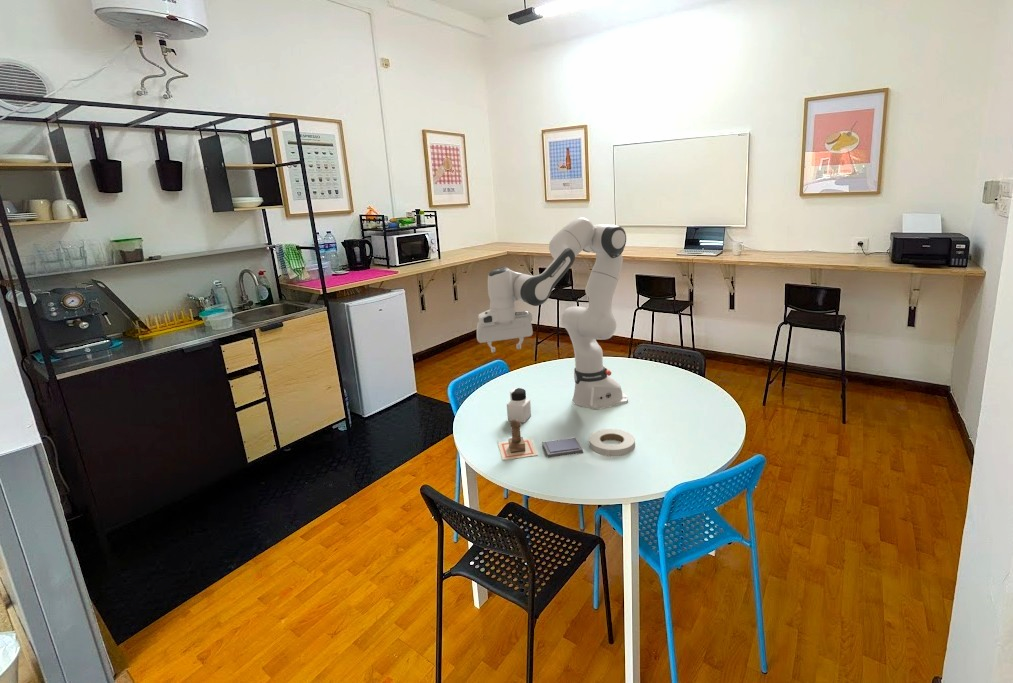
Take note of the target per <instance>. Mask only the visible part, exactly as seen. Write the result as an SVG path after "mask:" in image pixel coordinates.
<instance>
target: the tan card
mask: <svg viewBox="0 0 1013 683" xmlns="http://www.w3.org/2000/svg"><path fill="white" fill-rule="evenodd" d="M523 439H524V442H525V451H524V452H517V453H511V451H510V448H509V441H502V442H497V444H498V448H499V452H500V456H501V460H502V461H508V460H514V459H522V458H529V457H536V456H538V455H539V454H538V453H537V449H536V448H535V446H534V443H533V441H532V438H523Z"/></svg>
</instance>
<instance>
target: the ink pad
mask: <svg viewBox="0 0 1013 683" xmlns="http://www.w3.org/2000/svg"><path fill="white" fill-rule="evenodd" d="M541 445H542V448H543V450H544V451H545V454H546V456H547V458H548V459H551V458H556V457H557V458H558V457H563V456H564V457H565V456H571V455H579V454H584V449H583V447H582V446H581V445H580V443H579V440H578V439H577V437H570V438H562V439H555V440H548V441H542V442H541Z"/></svg>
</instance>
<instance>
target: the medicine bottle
mask: <svg viewBox="0 0 1013 683" xmlns="http://www.w3.org/2000/svg"><path fill="white" fill-rule="evenodd" d="M526 395H527V393H526V389H524V388H522V387H521V388H520V387H516V388H513V389H511V390H510V391H509V396H510V401H508V402H507V403H506V411H507V412H506V413H507V414H506V415H507V421H509V422H511V421H512V420H514V419H517V420H519V421H520V423H521V424H524V423H526V421H527V420H529V418H530V417H531V416H532V406H531V405H532V404H531V399H529V398H527V396H526Z"/></svg>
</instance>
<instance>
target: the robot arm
mask: <svg viewBox="0 0 1013 683" xmlns="http://www.w3.org/2000/svg"><path fill="white" fill-rule="evenodd" d="M626 244H627V234H626V231H625V229H624V227H621V226H619V225H617V224H606V223H600V224H593V223H592V222H591V221H590V220H589V219H587V218H585V217H578V218H575V219H573V220H572V221H571V222H569V223H567V224H566V225H565V226H564V227H562V228H561V229H560V230H559V231H558V232H557V233H556V234H554V236H552V238H551V239H550V241H549V243H548V245H549V246H548V250H549V253H550V255H551V257H552V259H553V260H552V262H550V264H549V265H548V266H547V267H546V268H545V269H544V271H543V272H542V273H540V274H537V275H531V274H526V273H522V272H517V271H514V270H512V269H511V268H509V267H507V266H503V267H497V268H494V269H492V270H491V271H490V272H489V273H488V275H487V294H488V298H489V309H488V310H485V311H483V312H480V313H479V314H478V315H477V319H478V322H477V324H476V340H477V342H478V343H479V344H482V343H483V344H484V343H487V346H488V347H489V349H490V351H491V354H494V353H496V352H497V351H496V347H495V346H492V343H493V342H498V341H507V340H512V339H519V341H518V343H516V344H515V345H516V350H522V344H523V342H524V338H526V337H527V338H528V337H532V335H533V334H534V331H533V325H532V320H533V315H532V313H531V312H530V311H527V310H523V311H516V308H515V306H516V305H515V302H516V301H520V302H523V303H527V304H528V305H530V306H533V307H538V306H541V305H543V304H544V303H546V302H547V300H548V299H549V297H550V295H551V293H552V291H553V289H554V288H555V287H556V286H557V284H558V283H559V282H560V281H561V279H562V278H563V277H564V276H565V275H566V273H567V272H569V270H570V268H571V267H572V265H573V264H574V263H575V260H576V257H577V256H578V255H579V254H580V253H581V252H582V251H583V252H585V253H591V254H595V262H594V265H593V266H592V268H591V272H590V274H589V277H588V280H587V284H586V285H585V289H584V291H585V294H586V296H587V297H588V306H587V307H585V306H580V305H579V306H576V305H575V306H569V307H567V308H566V309H565V310H564V311H563V313H562V315H561V324H562V326H563V328H564V329H565V330H566V332H567V334H568V335H569V338H570V341H571V343H572V347H573V351H574V352H573V353H574V363H575V367H574V369H573V370H574V372H573V374H574V375H573V378H574V383H575V384H574V391H573V396H572V402H573V404H574V405H576V406H579V407H583V408H587V409H592V410H600V409H605V408H609V407H613V406H618V405H623V404H627V403H629V398H628V395H627V394H626V393H625V392H624V391H623V390H622V387H621V385H620V383H619V382H618V381H617V380H615V379H614V378H612V377H611V375H612V371H611V370H610V369H608V368H607V367H606V366H604V363H603V362H604V360H603V359H604V358H603V357H604V356H603V354H604V353H603V349H602V347H601V345H599V343H598V342H597V340H602V341H603V340H606V341H607V340H609V339H611V338H612V337H614V334H615V332H616V331H617V320H616V319H615V317H614V315H613V310H612V303H613V297H614V294H615V290H616V287H617V285H618V281H619V279H620V275H621V272H622V268H623V262H624V257H623V255H622V253H623V252H624V249H625V247H626Z"/></svg>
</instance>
